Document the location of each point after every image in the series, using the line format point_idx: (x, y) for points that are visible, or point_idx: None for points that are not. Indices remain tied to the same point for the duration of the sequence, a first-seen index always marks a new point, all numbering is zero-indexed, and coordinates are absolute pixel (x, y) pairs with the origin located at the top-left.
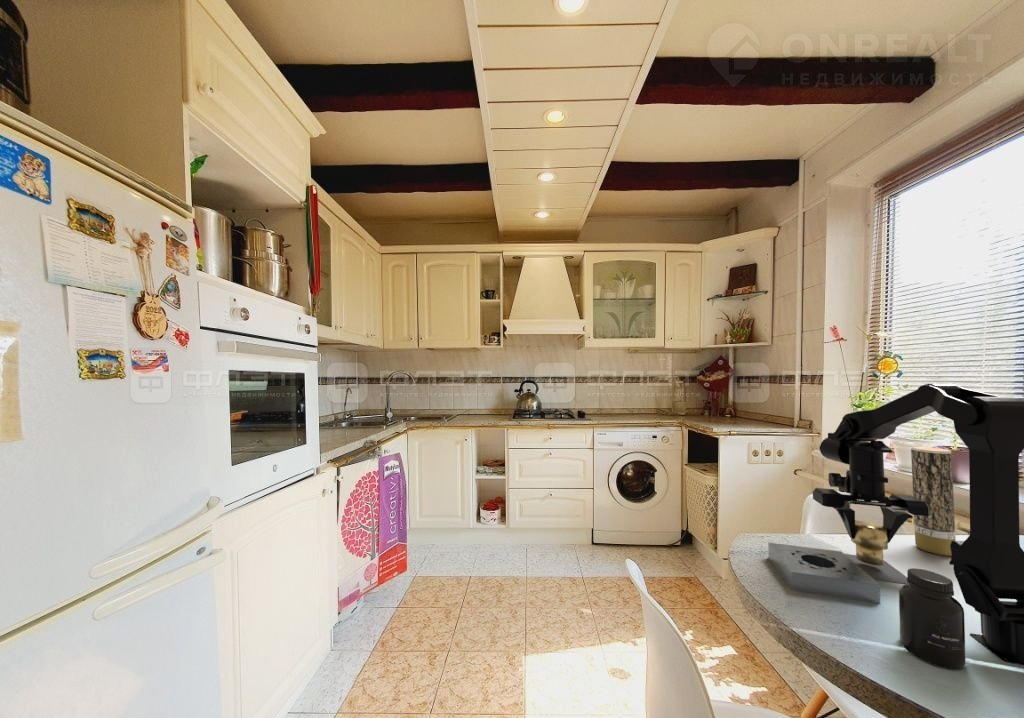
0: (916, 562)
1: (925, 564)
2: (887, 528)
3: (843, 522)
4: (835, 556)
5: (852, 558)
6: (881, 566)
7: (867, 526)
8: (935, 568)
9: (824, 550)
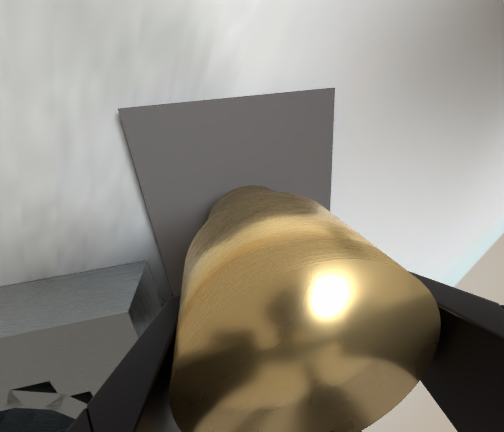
0: (462, 35)
1: (480, 46)
2: (434, 362)
3: (98, 395)
4: (95, 374)
5: (207, 152)
6: (290, 190)
7: (294, 405)
8: (484, 79)
9: (49, 339)
